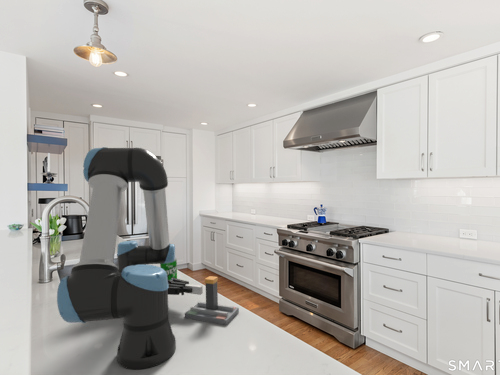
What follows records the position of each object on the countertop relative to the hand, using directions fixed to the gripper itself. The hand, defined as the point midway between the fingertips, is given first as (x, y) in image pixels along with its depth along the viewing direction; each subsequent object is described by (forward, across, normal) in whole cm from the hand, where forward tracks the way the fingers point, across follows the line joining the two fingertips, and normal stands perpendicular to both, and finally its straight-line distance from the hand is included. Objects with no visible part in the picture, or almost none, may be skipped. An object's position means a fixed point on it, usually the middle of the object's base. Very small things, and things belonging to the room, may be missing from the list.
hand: (201, 290), depth 104 cm
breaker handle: (+5, +1, -6) cm, 8 cm away
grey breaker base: (+5, +1, -8) cm, 9 cm away
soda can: (-31, -24, -8) cm, 40 cm away
